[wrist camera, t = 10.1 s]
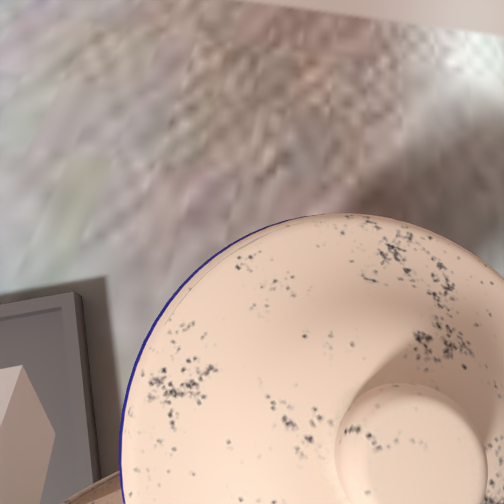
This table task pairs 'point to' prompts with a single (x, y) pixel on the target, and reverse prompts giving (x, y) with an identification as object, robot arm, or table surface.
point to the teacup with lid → (320, 374)
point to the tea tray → (56, 384)
